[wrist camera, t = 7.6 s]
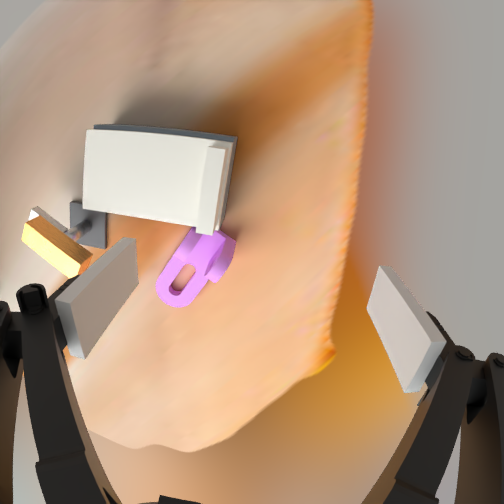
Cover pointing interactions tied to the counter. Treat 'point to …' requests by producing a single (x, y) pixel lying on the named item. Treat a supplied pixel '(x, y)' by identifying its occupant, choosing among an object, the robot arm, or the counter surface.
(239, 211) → the counter surface
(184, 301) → the bracket
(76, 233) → the key
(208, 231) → the cover
